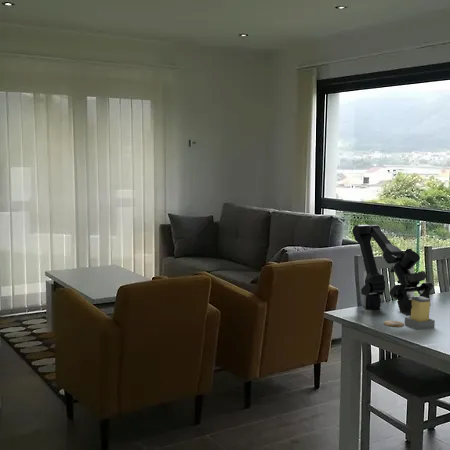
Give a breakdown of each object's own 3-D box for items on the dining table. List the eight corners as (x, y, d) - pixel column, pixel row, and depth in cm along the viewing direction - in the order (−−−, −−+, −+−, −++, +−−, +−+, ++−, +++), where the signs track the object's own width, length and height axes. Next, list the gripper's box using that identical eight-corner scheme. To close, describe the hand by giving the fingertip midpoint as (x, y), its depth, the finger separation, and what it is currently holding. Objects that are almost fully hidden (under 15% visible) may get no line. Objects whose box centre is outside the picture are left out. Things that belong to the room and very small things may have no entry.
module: (410, 324, 246) (411, 297, 245) (420, 323, 248) (421, 296, 247) (418, 327, 242) (420, 299, 240) (428, 326, 244) (430, 299, 242)
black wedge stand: (410, 315, 258) (404, 293, 263) (400, 321, 263) (394, 300, 269) (431, 316, 262) (425, 295, 267) (421, 323, 268) (415, 302, 273)
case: (391, 319, 255) (391, 311, 255) (407, 318, 258) (407, 310, 258) (418, 330, 240) (418, 322, 239) (434, 328, 243) (434, 320, 243)
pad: (386, 328, 242) (386, 325, 242) (381, 322, 250) (381, 320, 250) (406, 328, 243) (406, 326, 242) (400, 323, 250) (400, 320, 250)
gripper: (395, 265, 243) (412, 298, 235) (431, 263, 251) (449, 295, 242) (382, 280, 252) (398, 313, 243) (417, 278, 259) (434, 309, 250)
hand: (420, 307), depth 244 cm, fingers open, 9 cm apart
